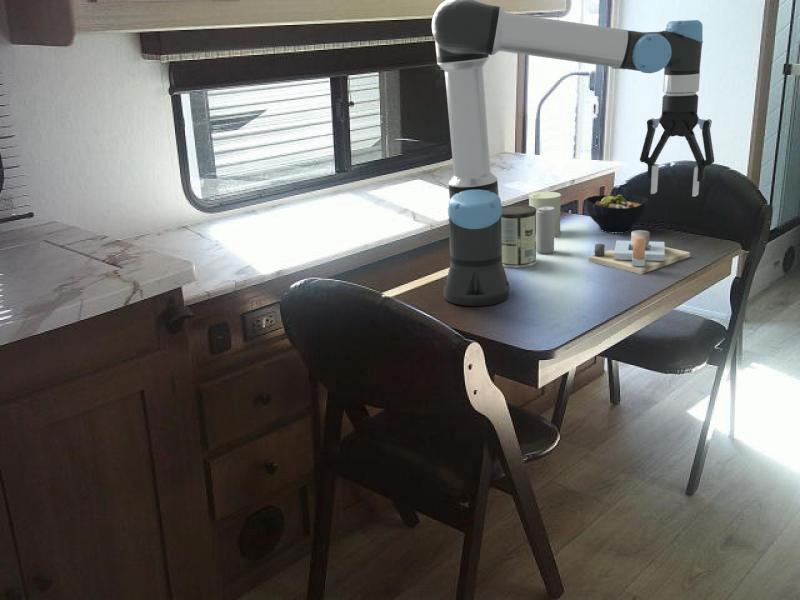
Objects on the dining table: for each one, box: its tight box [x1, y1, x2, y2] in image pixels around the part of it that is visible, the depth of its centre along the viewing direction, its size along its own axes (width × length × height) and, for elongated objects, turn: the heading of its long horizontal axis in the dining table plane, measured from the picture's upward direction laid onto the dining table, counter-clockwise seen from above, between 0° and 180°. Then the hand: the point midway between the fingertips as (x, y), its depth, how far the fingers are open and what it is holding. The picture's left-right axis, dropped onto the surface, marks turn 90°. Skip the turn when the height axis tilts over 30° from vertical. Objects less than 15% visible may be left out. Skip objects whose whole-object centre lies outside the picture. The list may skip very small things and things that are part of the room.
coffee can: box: [501, 204, 537, 269], centre depth 204 cm, size 10×10×14 cm
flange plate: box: [614, 237, 665, 266], centre depth 199 cm, size 17×12×7 cm
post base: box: [588, 229, 691, 275], centre depth 202 cm, size 20×16×7 cm
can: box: [528, 191, 562, 238], centre depth 229 cm, size 9×9×12 cm
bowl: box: [585, 194, 649, 234], centre depth 230 cm, size 17×17×10 cm
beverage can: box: [536, 206, 555, 255], centre depth 211 cm, size 5×5×12 cm
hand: (674, 193), depth 184 cm, fingers open, 9 cm apart
